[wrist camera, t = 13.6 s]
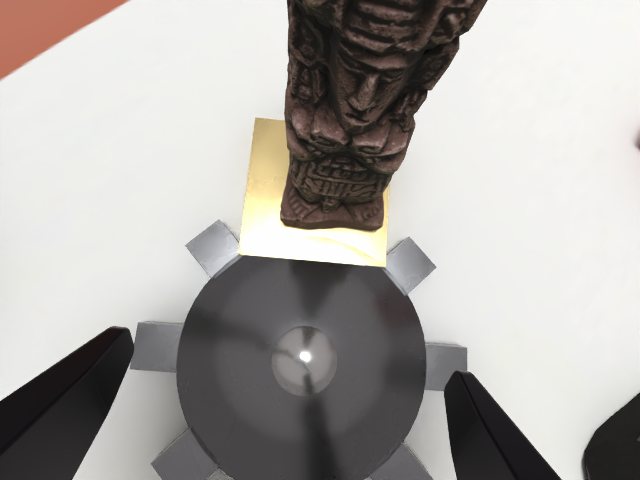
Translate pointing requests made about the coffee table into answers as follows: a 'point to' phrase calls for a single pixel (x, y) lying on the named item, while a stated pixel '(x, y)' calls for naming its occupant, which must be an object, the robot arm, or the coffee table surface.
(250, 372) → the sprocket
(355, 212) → the statue
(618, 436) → the gaming mouse
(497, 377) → the coffee table surface
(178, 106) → the coffee table surface
